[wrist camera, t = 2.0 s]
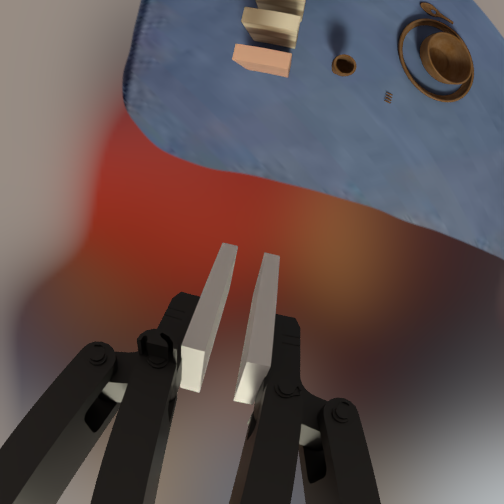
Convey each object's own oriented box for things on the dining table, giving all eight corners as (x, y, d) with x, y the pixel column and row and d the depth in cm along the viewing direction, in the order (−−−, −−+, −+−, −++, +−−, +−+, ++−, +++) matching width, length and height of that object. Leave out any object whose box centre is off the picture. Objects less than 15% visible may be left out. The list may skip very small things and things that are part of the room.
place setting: (453, 134, 30) (476, 142, 25) (321, 80, 30) (328, 77, 25) (473, 33, 21) (496, 29, 15) (345, -28, 21) (354, -46, 15)
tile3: (303, 11, 25) (308, -17, 16) (301, 21, 25) (305, -5, 17) (263, 3, 24) (253, -26, 16) (260, 14, 25) (250, -14, 17)
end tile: (290, 65, 29) (291, 53, 20) (287, 77, 30) (288, 69, 21) (249, 57, 29) (235, 43, 20) (247, 69, 30) (232, 59, 21)
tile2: (297, 37, 27) (300, 16, 18) (294, 48, 27) (297, 31, 19) (256, 29, 27) (244, 6, 18) (253, 40, 27) (241, 21, 19)
